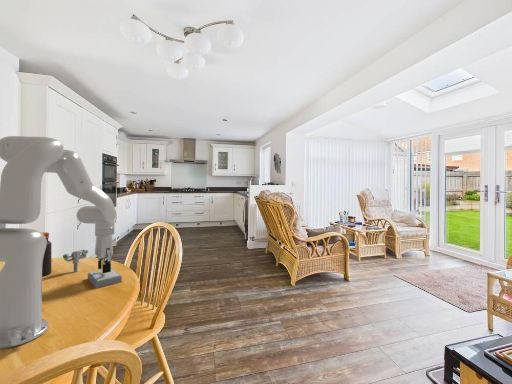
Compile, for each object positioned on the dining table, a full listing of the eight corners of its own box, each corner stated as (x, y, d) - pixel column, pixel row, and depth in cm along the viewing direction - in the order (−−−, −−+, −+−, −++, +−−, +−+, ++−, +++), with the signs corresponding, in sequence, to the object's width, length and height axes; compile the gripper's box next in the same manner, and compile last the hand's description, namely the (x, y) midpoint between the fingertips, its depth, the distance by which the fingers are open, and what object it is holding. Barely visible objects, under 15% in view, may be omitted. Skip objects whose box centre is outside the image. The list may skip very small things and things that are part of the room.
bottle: (35, 273, 116) (35, 232, 115) (53, 271, 119) (53, 231, 118) (29, 278, 110) (29, 235, 109) (48, 276, 112) (48, 234, 112)
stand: (121, 281, 109) (121, 275, 109) (96, 288, 102) (96, 281, 101) (111, 273, 118) (111, 267, 118) (87, 278, 111) (87, 272, 111)
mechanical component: (62, 274, 115) (62, 254, 115) (85, 268, 124) (85, 249, 124) (65, 275, 114) (65, 255, 113) (88, 269, 123) (88, 250, 122)
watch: (99, 272, 111) (99, 259, 111) (106, 270, 113) (106, 258, 113) (102, 274, 106) (102, 261, 107) (109, 273, 108) (109, 260, 109)
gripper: (90, 229, 112) (89, 267, 113) (101, 236, 101) (100, 278, 101) (108, 228, 118) (107, 263, 118) (120, 233, 106) (119, 273, 107)
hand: (104, 270), depth 110 cm, fingers closed on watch, 6 cm apart
